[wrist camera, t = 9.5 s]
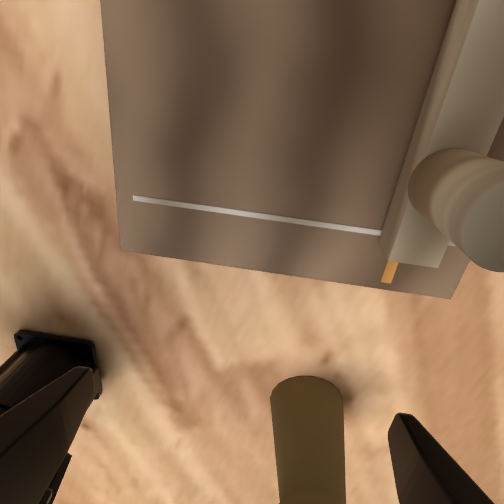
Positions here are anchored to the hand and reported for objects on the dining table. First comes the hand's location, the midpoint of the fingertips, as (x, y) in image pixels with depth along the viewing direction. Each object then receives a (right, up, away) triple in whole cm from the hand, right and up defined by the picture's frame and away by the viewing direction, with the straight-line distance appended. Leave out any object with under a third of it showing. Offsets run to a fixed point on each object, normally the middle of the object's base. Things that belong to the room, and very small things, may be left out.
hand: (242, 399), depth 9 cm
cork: (+5, -8, +18) cm, 20 cm away
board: (+3, +10, +8) cm, 14 cm away
